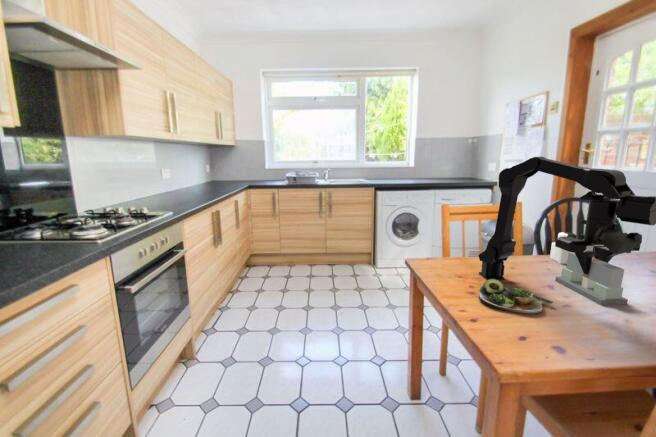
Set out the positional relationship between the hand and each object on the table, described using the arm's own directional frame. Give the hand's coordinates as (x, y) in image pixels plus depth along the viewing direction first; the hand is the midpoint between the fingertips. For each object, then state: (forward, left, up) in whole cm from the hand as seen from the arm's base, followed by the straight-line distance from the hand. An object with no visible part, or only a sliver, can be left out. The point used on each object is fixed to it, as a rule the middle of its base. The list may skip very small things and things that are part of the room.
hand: (591, 273), depth 85 cm
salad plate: (-17, +9, -12) cm, 23 cm away
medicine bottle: (+26, +41, -12) cm, 50 cm away
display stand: (+12, +13, -12) cm, 21 cm away
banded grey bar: (0, 0, -1) cm, 1 cm away
